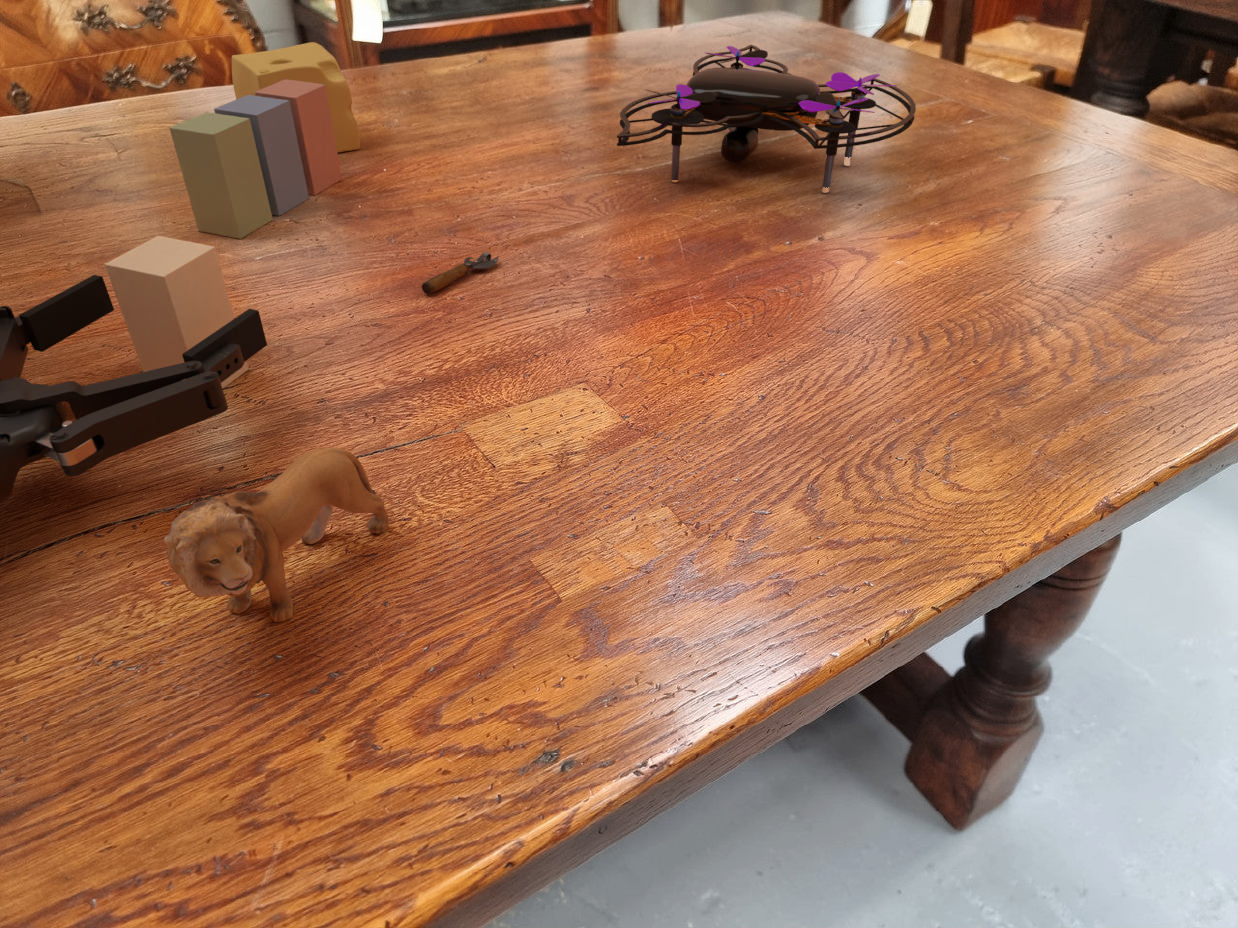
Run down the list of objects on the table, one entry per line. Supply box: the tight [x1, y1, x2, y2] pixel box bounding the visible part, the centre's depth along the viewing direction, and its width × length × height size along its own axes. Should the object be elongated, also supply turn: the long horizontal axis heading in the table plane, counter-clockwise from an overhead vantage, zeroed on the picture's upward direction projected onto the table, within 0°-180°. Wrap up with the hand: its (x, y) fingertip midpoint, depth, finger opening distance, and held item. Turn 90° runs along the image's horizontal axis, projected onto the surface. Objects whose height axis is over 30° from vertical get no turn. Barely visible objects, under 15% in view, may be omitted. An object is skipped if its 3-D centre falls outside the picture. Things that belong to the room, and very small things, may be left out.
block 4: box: [255, 79, 343, 196], centre depth 97 cm, size 5×5×10 cm
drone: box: [616, 44, 917, 188], centre depth 102 cm, size 40×10×28 cm
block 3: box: [213, 95, 310, 217], centre depth 93 cm, size 5×5×10 cm
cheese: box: [231, 41, 361, 153], centre depth 107 cm, size 10×11×10 cm
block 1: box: [169, 111, 274, 240], centre depth 88 cm, size 5×5×10 cm
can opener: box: [421, 251, 499, 295], centre depth 82 cm, size 9×2×1 cm, turn 140°
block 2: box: [104, 235, 249, 390], centre depth 66 cm, size 5×5×10 cm
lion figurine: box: [163, 447, 390, 623], centre depth 50 cm, size 15×5×9 cm, turn 160°
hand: (179, 309), depth 66 cm, fingers open, 13 cm apart
